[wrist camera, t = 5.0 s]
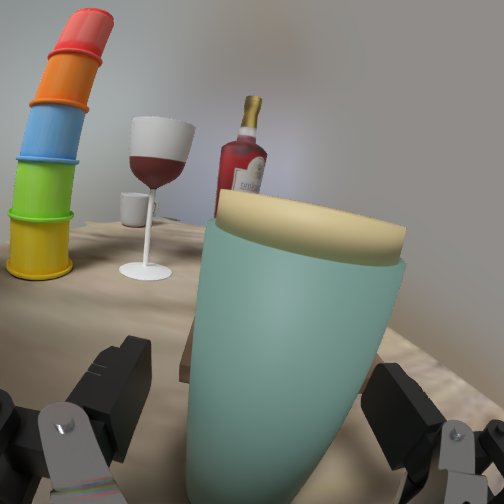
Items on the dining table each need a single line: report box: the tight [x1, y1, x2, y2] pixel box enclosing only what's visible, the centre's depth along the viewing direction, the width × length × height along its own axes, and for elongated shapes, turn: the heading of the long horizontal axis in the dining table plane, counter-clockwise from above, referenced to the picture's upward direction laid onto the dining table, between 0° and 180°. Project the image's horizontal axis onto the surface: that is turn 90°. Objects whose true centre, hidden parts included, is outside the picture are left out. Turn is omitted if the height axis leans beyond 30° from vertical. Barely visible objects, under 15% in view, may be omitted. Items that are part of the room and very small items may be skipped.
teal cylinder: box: [186, 189, 406, 504], centre depth 8 cm, size 5×5×13 cm
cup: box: [121, 193, 159, 227], centre depth 66 cm, size 11×8×8 cm
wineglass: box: [119, 116, 195, 280], centre depth 34 cm, size 8×9×20 cm
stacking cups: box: [6, 8, 114, 280], centre depth 25 cm, size 10×10×35 cm
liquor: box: [214, 96, 267, 218], centre depth 43 cm, size 7×7×28 cm
